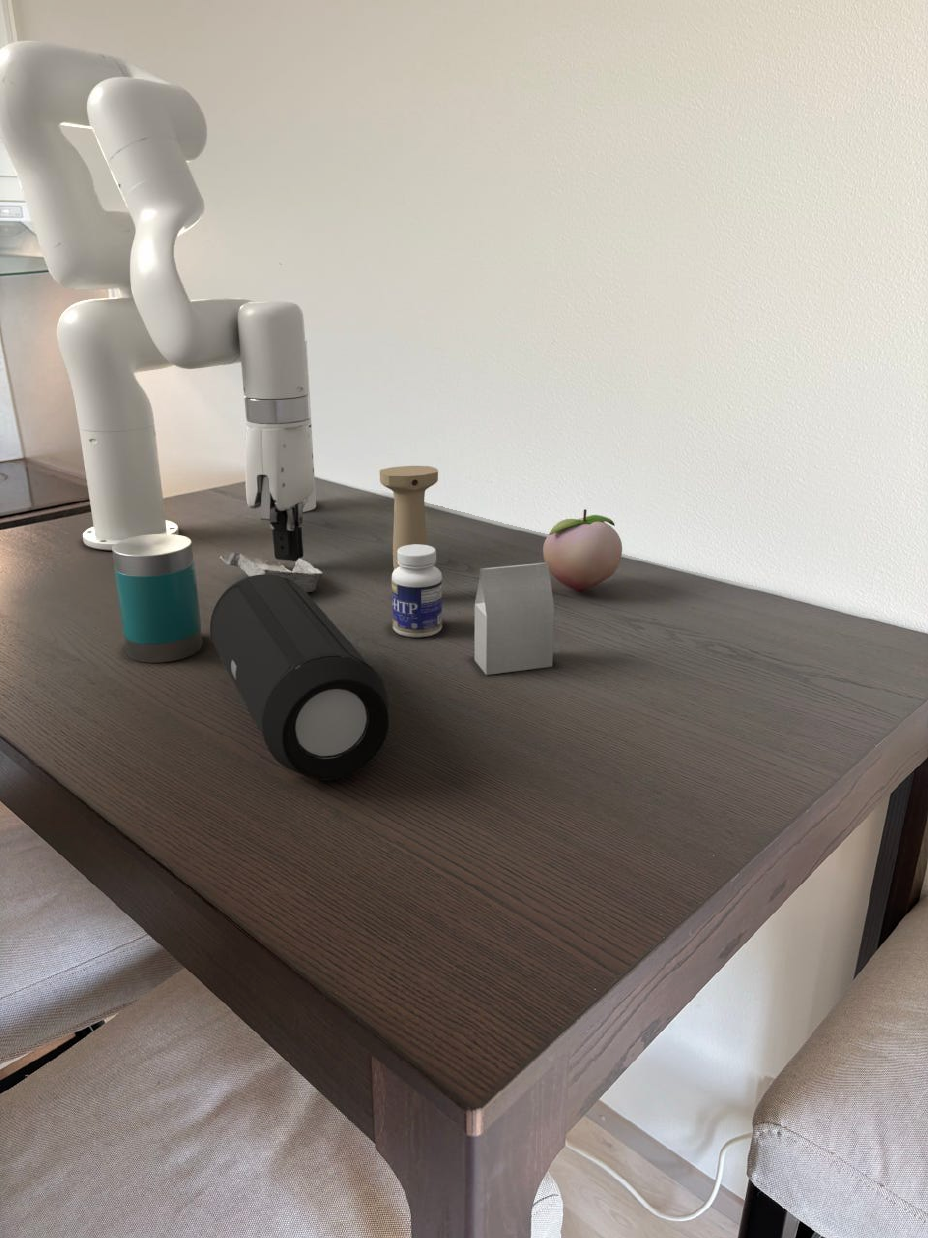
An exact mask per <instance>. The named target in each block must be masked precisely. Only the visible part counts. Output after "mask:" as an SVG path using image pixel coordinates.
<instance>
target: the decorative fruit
mask: <svg viewBox="0 0 928 1238" xmlns="http://www.w3.org/2000/svg"><path fill="white" fill-rule="evenodd" d="M587 512H588V511H587V509H583V517H580V518H566V519H563V520H560V521H558V522H557V523H556V524H555V525H554V526H553V527H552V528H551V529H550V531H549V533H548V535H547V537H546V539H545V540H544V542H543V547H542V552H543V553H542V554H543V560H544V563H545V562H548V563H549V572H550V574H551V575H552V576H553V577H554V578H555V579H556V580H557V581H558V582H559V583H561V584H562V585H564V586H565V587H567V588H569V589H571V590H573V591H575V592H579V593H583V592H584V590H587V589H589V588H591V587H594V586H597V585H598V584H601V583H603V582H604V581H606V580H608V579H609V578H611V577H612V576H613V575H614V574H615V572H616V570H617V569H618V567H619V565H620V562H621V560H622V556H623V555H622V554H623V542H622V540H621V537H620V535H619V534H618V532H617V531H616V530H615V529H614V528H613V527H612V526H614V527H615V522H614V521H613V520H612V519H611V518H609V517H607V516H604V515H599V514H591V515H588V516H587Z"/></svg>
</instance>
